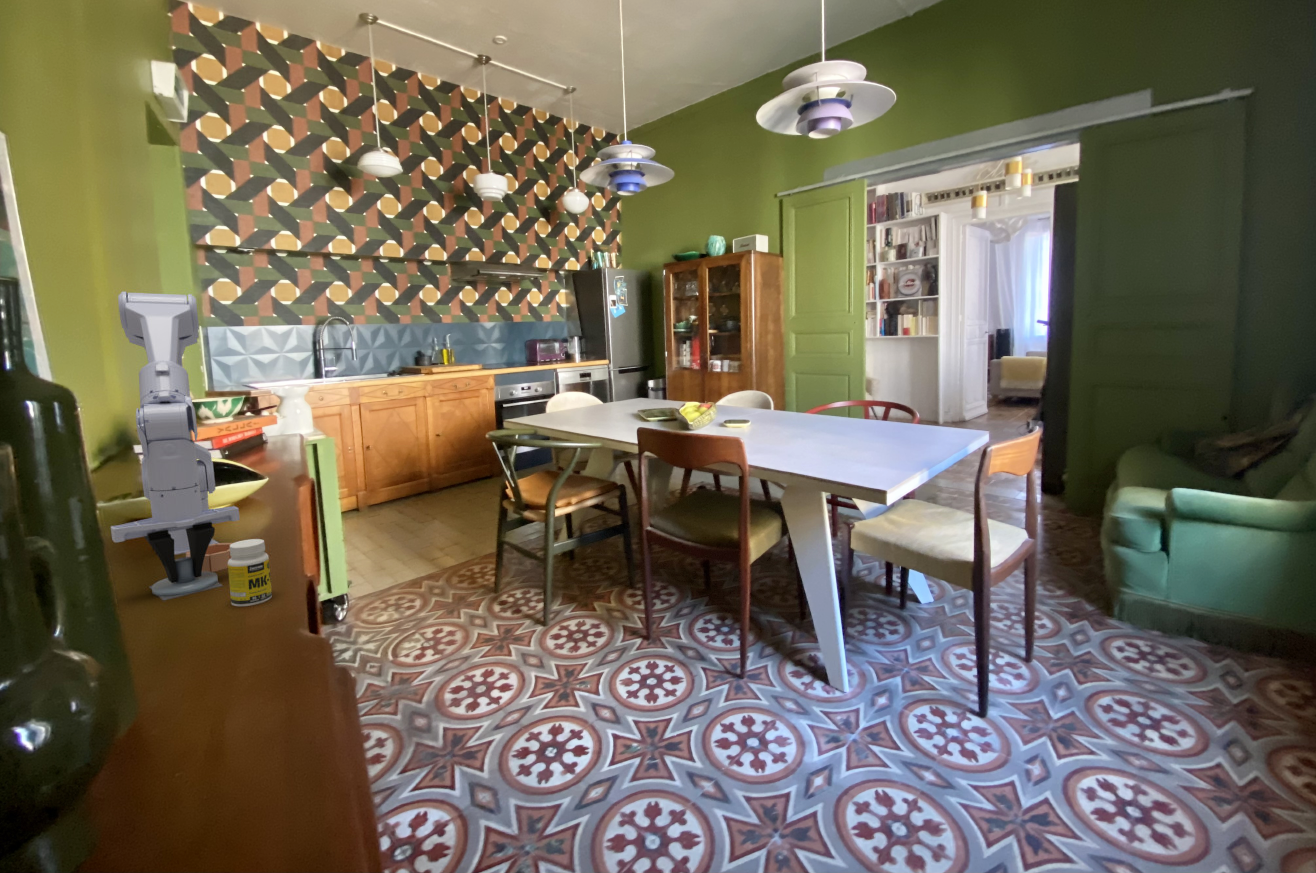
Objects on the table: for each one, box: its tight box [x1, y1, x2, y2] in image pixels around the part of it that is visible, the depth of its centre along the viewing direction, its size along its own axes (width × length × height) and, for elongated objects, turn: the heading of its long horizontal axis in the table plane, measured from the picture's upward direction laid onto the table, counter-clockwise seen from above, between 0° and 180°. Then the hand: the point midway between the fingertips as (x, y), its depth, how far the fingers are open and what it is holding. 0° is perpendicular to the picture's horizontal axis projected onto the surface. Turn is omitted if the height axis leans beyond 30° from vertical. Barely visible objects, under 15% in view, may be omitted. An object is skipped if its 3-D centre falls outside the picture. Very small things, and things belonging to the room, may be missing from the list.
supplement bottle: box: [227, 538, 273, 607], centre depth 85 cm, size 5×5×8 cm
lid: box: [151, 556, 219, 597], centre depth 90 cm, size 8×8×4 cm
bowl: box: [185, 542, 234, 573], centre depth 99 cm, size 7×7×3 cm
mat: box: [148, 581, 224, 602], centre depth 90 cm, size 8×7×1 cm
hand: (185, 578), depth 90 cm, fingers closed on lid, 2 cm apart
